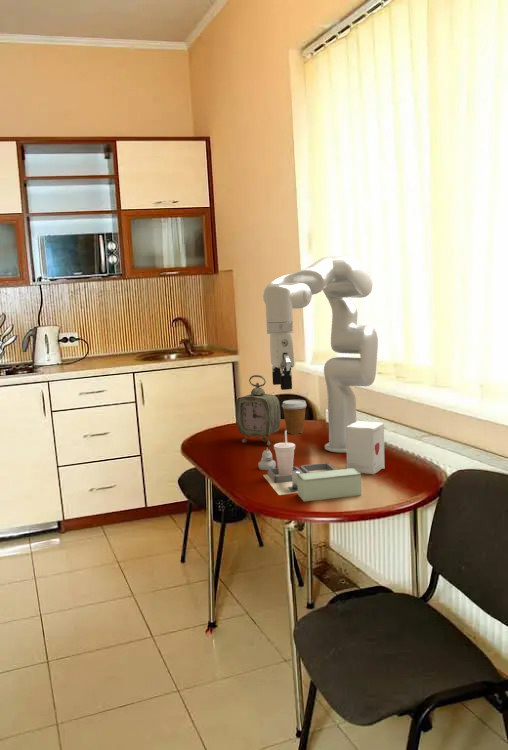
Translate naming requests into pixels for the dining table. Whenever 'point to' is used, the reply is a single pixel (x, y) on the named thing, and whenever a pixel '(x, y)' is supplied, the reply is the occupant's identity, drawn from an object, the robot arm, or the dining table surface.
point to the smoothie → (284, 456)
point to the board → (284, 485)
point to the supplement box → (365, 446)
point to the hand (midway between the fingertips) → (282, 386)
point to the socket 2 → (316, 467)
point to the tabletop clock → (258, 413)
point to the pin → (295, 479)
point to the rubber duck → (267, 461)
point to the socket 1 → (282, 478)
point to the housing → (329, 484)
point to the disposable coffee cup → (294, 415)
